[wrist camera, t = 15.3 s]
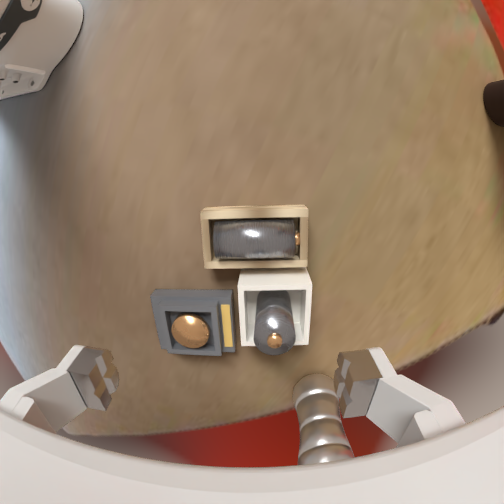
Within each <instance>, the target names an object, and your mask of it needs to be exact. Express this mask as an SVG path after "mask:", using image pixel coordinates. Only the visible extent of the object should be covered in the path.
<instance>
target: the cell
mask: <svg viewBox="0 0 504 504" xmlns="http://www.w3.org/2000/svg"><path fill="white" fill-rule="evenodd" d="M295 340H296V335H295V328H294V321H293V314H292V307H291V300H290V295H289V293H288V292H287V291H286V290H261V291H260V292H259V294H258V296H257V303H256V315H255V327H254V343H255V346H256V347H257V348H258V349H259V350H260V351H261V352H263V353H265V354H269V355H280V354H283V353H285V352H287V351H289V350H290V349H291V348H292V347H293V345H294V343H295Z"/></svg>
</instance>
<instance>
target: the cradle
mask: <svg viewBox="0 0 504 504" xmlns="http://www.w3.org/2000/svg"><path fill="white" fill-rule="evenodd" d="M150 298H151V303H152V308H153V313H154V318H155V323H156V327H157V332H158V336H159V341H160V345H161V349H167V351H168V353H173V354H189V355H210V356H222V352H235V348H236V333H235V319H234V304H233V290H177V289H155V290H154V292H153V293H152V294H151V296H150ZM184 313H193V314H196V315H199V316H200V317H202V318H203V319H204V320H205V321H206V322H207V323H208V325H209V328H210V334H209V338H208V341H207V342H206V343H205V344H204V345H203V346H201V347H199V348H188V347H185V346H183V345H181V344H180V343H178V342H177V341H176V340H175V338H174V337H173V335H172V330H171V328H172V324H173V322H174V320H175V319H176V318H177V317H178V316H179V315H181V314H184Z"/></svg>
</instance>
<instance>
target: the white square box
mask: <svg viewBox="0 0 504 504" xmlns="http://www.w3.org/2000/svg"><path fill="white" fill-rule="evenodd" d="M261 290H286V291H287V292H288V293H289V295H290V300H291V307H292V314H293V321H294V328H295V335H296V340H295V343H294V345H308V342H309V329H310V315H311V298H312V282H311V279H310V276H309V274H308V271H307V268H306V267H286V268H241V272H240V277H239V281H238V301H239V318H240V334H241V346H255V343H254V327H255V315H256V303H257V296H258V294H259V292H260V291H261Z"/></svg>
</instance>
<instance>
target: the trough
mask: <svg viewBox="0 0 504 504" xmlns="http://www.w3.org/2000/svg"><path fill="white" fill-rule="evenodd" d="M200 217H201V231H202V243H203V255H204V266H205V269H225V268H286V267H307V255H308V208H307V207H306V206H305V205H262V206H228V207H206V208H204V209H203V210H202V211H201V212H200ZM283 219H293V220H294V226H295V232H299V234H300V245H295V256H294V258H261V259H216V257H215V254H214V246H213V230H214V224H215V221H237V220H283Z"/></svg>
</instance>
